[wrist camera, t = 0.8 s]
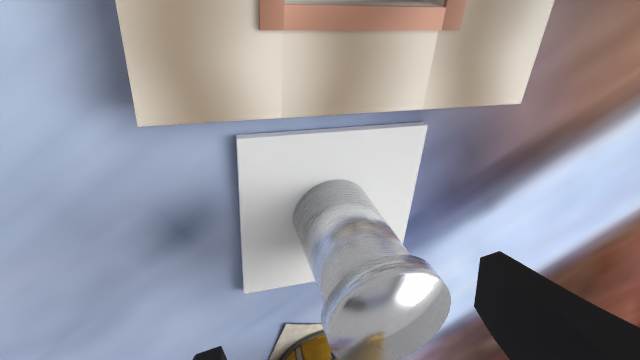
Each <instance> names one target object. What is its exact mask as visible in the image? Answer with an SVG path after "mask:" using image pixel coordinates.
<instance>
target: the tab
mask: <svg viewBox="0 0 640 360" xmlns="http://www.w3.org/2000/svg"><path fill="white" fill-rule="evenodd" d="M427 127H428V125H427V124H426V123H425V122H414V123H400V124H385V125H371V126H357V127H342V128H328V129H314V130H300V131H285V132H271V133H257V134H243V135H236V150H237V171H238V192H239V213H240V234H241V255H242V276H243V291H244V294H247V293H252V292H258V291H264V290H269V289H275V288H280V287H286V286H292V285H297V284H303V283H308V282H314V281H315V279H314V276H313V274H312V271H311V269H310V266H309V264H308V261H307V259H306V256H305V254H304V251H303V249H302V246H301V244H300V241H299V239H298V237H297V234H296V232H295V229H294V226H293V213H294V210H295V207H296V205H297V203H298V202H299V200H300V199H301V198H302V196H303V195H304V194H305V193H306V192H308V191H309V190H310V189H311V188H313V187H314V186H316V185H318V184H320V183H323V182H326V181H329V180H337V179H342V180H348V181H352V182H354V183H356V184H358V185H359V186H360V187H361V188H362V189H363V190H364V191H365V193H366V194H367V195H368V197H369V198H370V200H371V201H372V202H373V204H374V205H375V207H376V208H377V209H378V211H379V212H380V214H381V215H382V216H383V218H384V219H385V220H386V222H387V223H388V225H389V226H390V227H391V229H392V230H393V232H394V233H395V234H396V236H397V237H398V239H399V240H400V241H401V243H402V244H403V241H404V236H405V231H406V227H407V222H408V217H409V212H410V208H411V203H412V198H413V193H414V189H415V184H416V179H417V175H418V170H419V165H420V160H421V156H422V151H423V146H424V141H425V137H426V132H427Z"/></svg>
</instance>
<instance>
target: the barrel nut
mask: <svg viewBox="0 0 640 360" xmlns="http://www.w3.org/2000/svg"><path fill="white" fill-rule="evenodd" d="M293 226H294V229H295V232H296V234H297V237H298V239H299V241H300V244H301V246H302V249H303V251H304V254H305V256H306V259H307V261H308V264H309V266H310V269H311V271H312V274H313V276H314V279H315V281H316V283H317V286H318V288H319V291H320V293H321V296H322V298H323V301H324V306H323V309H322V314H321V322H322V327H323V329H324V332H325V335H326V337H327V340H328V343H329V345H330V348H331V350H332V353H333V354H334V356H335V357H336V358H337V359H338V360H399V359H401V358H403V357H405V356H407V355H409V354H411V353H412V352H414V351H416V350H417V349H419V348H420V347H421V346H423V345H424V344H425V343H426V342H427V341H429V340H430V339H431V338H432V337H433V336H434V335H435V334H436V332H437V331H438V330H439V329H440V327H441V326H442V325H443V323H444V321H445V319H446V318H447V315H448V313H449V310H450V305H451V296H450V292H449V290H448V288H447V286H446V285H445V284H444V282H443V281H442V280H441V278H440V277H439V276H438V274H437V273H436V272H435V270H434V269H433V268H432V266H431V265H430V264H429V263H428V262H426V261H425V260H423V259H421V258H419V257H415V256H411V255H410V254H409V252H408V251H407V250H406V248H405V247H404V245H403V244H402V243H401V241H400V240H399V239H398V237H397V236H396V234H395V233H394V232H393V230H392V229H391V227H390V226H389V225H388V223H387V222H386V220H385V219H384V218H383V216H382V215H381V214H380V212H379V211H378V209H377V208H376V207H375V205H374V204H373V202H372V201H371V200H370V198H369V197H368V195H367V194H366V193H365V191H364V190H363V189H362V188H361V187H360V186H359V185H358V184H356V183H354V182H352V181H348V180H342V179H337V180H329V181H326V182H323V183H320V184H318V185H316V186H314V187H313V188H311V189H310V190H309V191H308V192H306V193H305V194H304V195H303V196H302V198H301V199H300V200H299V202H298V203H297V205H296V207H295V210H294V213H293Z"/></svg>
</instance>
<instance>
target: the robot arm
mask: <svg viewBox="0 0 640 360" xmlns="http://www.w3.org/2000/svg"><path fill="white" fill-rule="evenodd" d="M474 307H475V309H476V310H477V312H478V314H479V315H480V317H481V319H482V320H483V322H484V324H485V325H486V327H487V328H488V330H489V332H490V333H491V335H492V336H493V338H494V339H495V341H496V342H497V343H498V345H499V346H500V347H501V349H502V350H503V351H504V352H505V354H506V355H507V356H508V358H509V359H510V360H640V328H639V327H637V326H635V325H633V324H631V323H629V322H627V321H625V320H623V319H621V318H619V317H617V316H615V315H613V314H611V313H609V312H607V311H605V310H603V309H601V308H599V307H597V306H596V305H594V304H592V303H590V302H588V301H586V300H584V299H583V298H581V297H579V296H577V295H575V294H573V293H572V292H570V291H568V290H566V289H565V288H563V287H561V286H559V285H557V284H556V283H554V282H552V281H551V280H549V279H547V278H545V277H544V276H542V275H540V274H538V273H537V272H535V271H533V270H532V269H530V268H528V267H526V266H525V265H523V264H521V263H520V262H518V261H516V260H514V259H513V258H511V257H509V256H507V255H506V254H504V253H502V252H500V251H499V252H496V253H493V254H490V255H487V256H484V257H481V258H480V264H479V272H478V280H477V288H476V296H475V303H474ZM193 360H227V358H226V356H225V354H224V351H223V349H222V347H221V346H219V347H216V348H213V349H210V350H207V351H205V352H202V353H199V354H196V355H195V357H194V358H193Z"/></svg>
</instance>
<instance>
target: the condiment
mask: <svg viewBox="0 0 640 360" xmlns="http://www.w3.org/2000/svg"><path fill="white" fill-rule="evenodd" d="M269 360H338V359H337V358H336V357H335V356H334V354H333V353H332V350H331V348H330V345H329V343H328V340H327V337H326V335H325V332H324V329H323V327H322V324H311V325H306V324H286V325H285V328H284V330H283V332H282V334H281V336H280V338H279V340H278V341H277V343H276V346H275V349H274V351H273V352H272V354H271V356H270V358H269Z"/></svg>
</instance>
